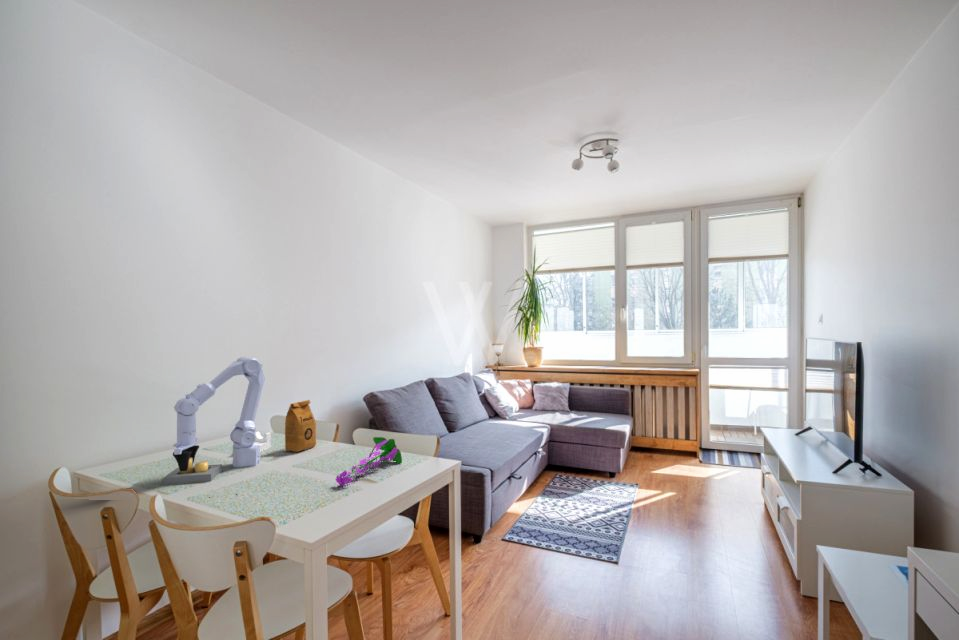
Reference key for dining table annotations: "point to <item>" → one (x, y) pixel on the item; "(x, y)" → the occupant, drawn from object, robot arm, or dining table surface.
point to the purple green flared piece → (373, 458)
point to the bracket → (263, 441)
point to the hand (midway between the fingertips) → (186, 468)
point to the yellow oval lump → (190, 467)
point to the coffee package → (300, 427)
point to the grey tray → (192, 475)
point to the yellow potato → (201, 467)
